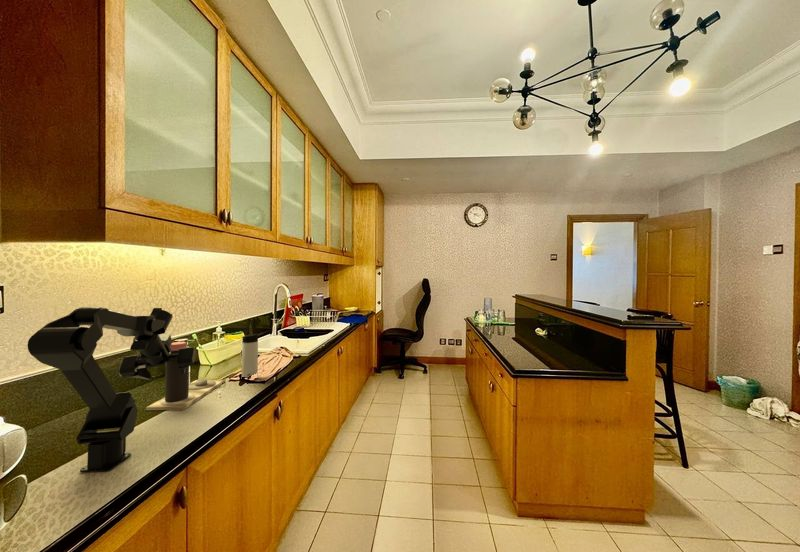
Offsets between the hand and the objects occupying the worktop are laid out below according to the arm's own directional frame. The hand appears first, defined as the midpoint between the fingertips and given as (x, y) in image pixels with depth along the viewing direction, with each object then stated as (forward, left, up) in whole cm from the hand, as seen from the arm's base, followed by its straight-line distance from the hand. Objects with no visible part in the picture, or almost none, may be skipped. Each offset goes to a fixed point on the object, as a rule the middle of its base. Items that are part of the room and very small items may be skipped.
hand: (167, 375), depth 99 cm
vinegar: (+8, +2, -11) cm, 14 cm away
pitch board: (+15, +2, -12) cm, 19 cm away
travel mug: (+32, -13, -12) cm, 37 cm away
